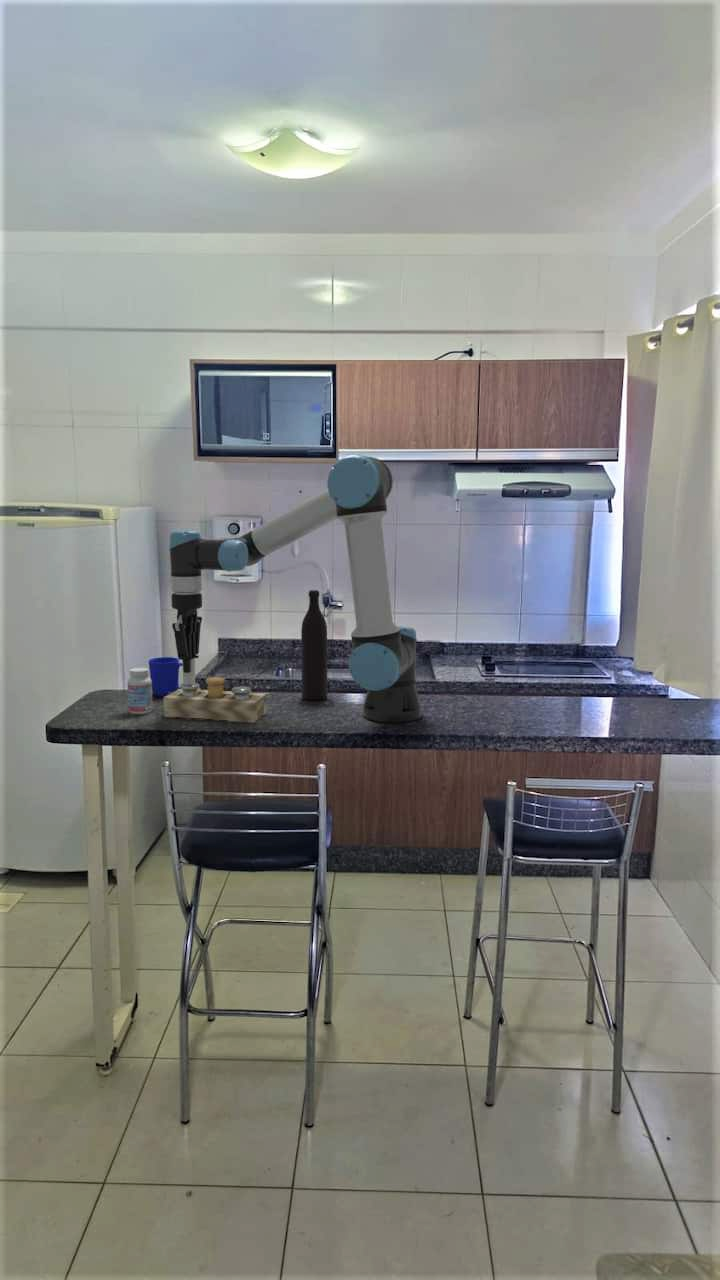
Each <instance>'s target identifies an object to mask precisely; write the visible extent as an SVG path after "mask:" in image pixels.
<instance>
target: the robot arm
mask: <svg viewBox="0 0 720 1280" xmlns="http://www.w3.org/2000/svg"><path fill="white" fill-rule="evenodd" d="M326 481H327V483H326V485H327V489H326V490H323V491H322V492H320V493H318V494H317V495H315V496H313V497H311V498H309V499H307V500H305V501H304V502H302V503H300V504H298V505H296V506H295V507H292V508H291V509H288V510H287V511H285V512H283V513H282V514H279V515H278V516H276V517H274V518H273V519H271V520H268V521H267V522H265V523H263V524H261V525H259V526H257V527H256V528H254V529H253V530H251V531H248V532H247V533H245V534H243V535H241V536H238V537H232V538H227V539H226V538H224V539H205V538H202V536H201V533H200V531H198V530H173V531H171V533H170V534H169V548H168V550H169V558H170V559H169V560H170V579H169V582H170V584H171V586H170V587H171V592H173V593H172V594H171V596H170V597H171V599H170V600H171V608H172V609H174V610H176V611H177V614H176V622H173V623H172V625H171V626H172V629H173V632H174V634H173V635H174V639H175V647H176V653H177V659H179V661H180V660H181V661H182V663H183V666H182V684H186V685H194V684H195V683H196V659H199V656H200V655H199V651H200V638H201V626H202V625H201V624H202V621H203V617H202V616H198V610H199V609H201V608H202V607H203V594H202V593H201V591H202V590H203V583H202V582H203V580H202V570H204V571H205V570H210V571H225V572H226V571H227V572H235V571H236V572H239V571H240V572H241V571H243V570H244V569H245V567H251V566H253V565H256V564H257V563H259V562H260V561H261V560H262V559H264V558H265V557H267V556H269V555H270V554H273V553H275V552H276V551H279V550H280V549H282V548H284V547H286V546H288V545H290V544H291V543H294V542H295V541H297V540H299V539H301V538H303V537H305V536H308V535H309V534H311V533H313V532H315V531H317V530H318V529H321V528H323V527H324V526H327V525H328V524H331V523H332V522H333V521H336V520H339V521H340V522H342V524H343V525H344V529H345V538H346V539H345V540H346V546H347V547H346V548H347V557H348V565H349V575H350V580H351V581H350V582H351V583H350V584H351V589H352V591H351V592H352V599H353V608H354V618H355V625H356V626H355V628H354V629H353V630H352V632H351V634H350V636H351V637H350V638H351V646H352V653H351V654H350V656H349V661H348V668H349V669H348V670H349V673H350V675H351V677H352V679H353V680H354V681H355V683H356V684H357V685H359V686H360V687H362V688H363V689H365V690H367V692H366V696H365V698H364V702H363V704H362V716H363V717H364V718H365V719H367V720H371V721H373V722H374V721H375V722H381V723H407V722H412V721H415V720H418V719H420V718H421V717H422V713H423V712H422V711H423V709H422V706H423V705H422V703H421V700H420V697H419V694H418V690H417V686H416V674H417V673H416V672H417V671H416V670H417V669H416V668H417V667H416V666H417V641H418V639H417V631H416V629H414V628H413V627H410V626H409V627H408V626H398V625H396V624H395V623H394V622H393V613H392V604H391V595H390V587H389V586H390V585H389V577H388V568H387V558H386V550H385V541H384V532H383V531H384V530H383V522H382V521H383V518H384V517H385V516H386V515H387V513H388V509H387V508H388V505H387V498H388V497H389V496H390V494H391V492H392V489H393V484H394V483H393V482H394V479H393V474H392V472H391V470H390V468H389V467H388V465H387V464H386V463H385V462H384V461H382V460H380V459H379V458H376V457H372V456H366V455H364V454H353V455H347V456H344V457H341V458H340V459H339V460H337V461H336V462H335V463H334V464H333V465H332V467H331V469H330V470H329V472H328V476H327V480H326Z"/></svg>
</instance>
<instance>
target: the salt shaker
mask: <svg viewBox="0 0 720 1280" xmlns="http://www.w3.org/2000/svg"><path fill="white" fill-rule="evenodd" d="M179 687H180V689H182V691H183V696H189V697H196V696H198V689H199V690H200V684H199V683H198V682H195V684H194V685H186V684H183V683H181V684H180V685H179Z"/></svg>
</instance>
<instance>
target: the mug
mask: <svg viewBox="0 0 720 1280" xmlns="http://www.w3.org/2000/svg"><path fill="white" fill-rule="evenodd" d="M148 666H149V667H148V670H149V675H150V676H149V678H150V679H151V681H152V695H154V696H156V697H161V698H164V697H165V696H167V695H169V694H171V693H168V692H175V691H177V690H178V689H180V685H179V672H180V667H183V662H180V660H179V659H178V657H173V656H172V657H171V656H170V657H168V656H163V657H161V656H160V657H155V658H151V659H149V660H148Z"/></svg>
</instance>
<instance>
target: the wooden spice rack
mask: <svg viewBox="0 0 720 1280" xmlns="http://www.w3.org/2000/svg"><path fill="white" fill-rule="evenodd" d="M162 698H163V700H162V701H163V717H164V718H175V717H190V718H207V719H208V718H209V719H219V720H228V721H227V722H234V721H235V722H236V723H249V724H254V723H256V722H257V721H258V720H259V719H261V718H262V717H263V716H264V715H265V714H267V713H268V693H263V692H250V693H249V699H248V700H237V699H234V693H232V690H231V691H229V690H228V691H227V690H223V698H208V689H200V688H199V689H198V696H196V697H189V696H183V691H182V689H178V690H177V691H175V692H173V693H171V694H169V695H167V696H165V697H162ZM190 718H189V719H190ZM219 720H218V721H219ZM235 722H234V723H235Z"/></svg>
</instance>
